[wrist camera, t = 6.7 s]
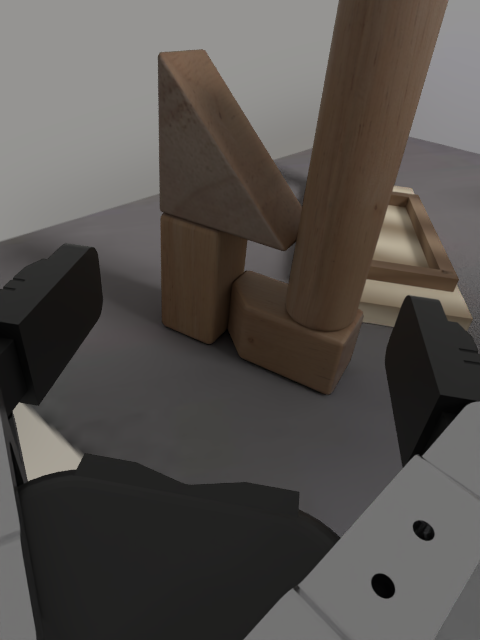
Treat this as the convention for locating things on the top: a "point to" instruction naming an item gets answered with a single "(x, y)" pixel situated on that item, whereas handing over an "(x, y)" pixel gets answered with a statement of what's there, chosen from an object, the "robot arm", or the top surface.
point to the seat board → (410, 265)
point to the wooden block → (288, 194)
